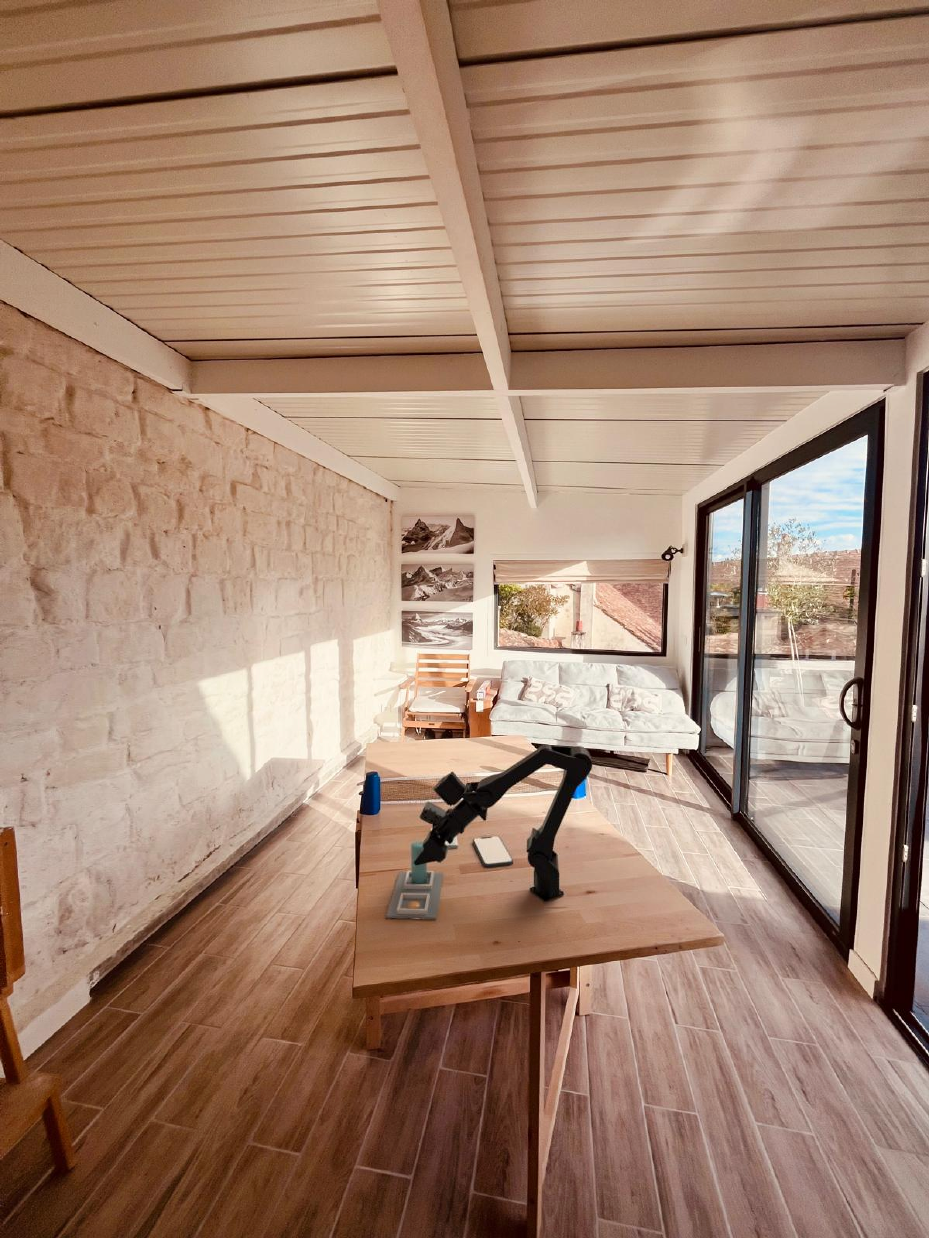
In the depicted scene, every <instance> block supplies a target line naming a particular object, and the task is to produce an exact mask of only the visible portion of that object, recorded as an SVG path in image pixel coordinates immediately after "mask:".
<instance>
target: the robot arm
mask: <svg viewBox="0 0 929 1238" xmlns="http://www.w3.org/2000/svg"><path fill="white" fill-rule="evenodd" d="M546 765H548V766H549V765H550V766H553V767H555V768H558V769H560V770H563V774H562V779H561V782H560V783H559V785H558V788H557V790H556V792H555V795H554V797H553V799H552V802H551V804H550V806H549V808H548V809H547V810H548V811H547V813H546V816H545V818H544V820H543V823H542V824H541V826H540V827H539V828H538V829H536V828H535V827H532V829H531V833H530V836H529V837H528V838H527V839H526V853H527V861H528V864H529V865H530V866H531V867H532V868H533V869H534V870H533V886H531V887H529V891H530V892H531V893H532V894H534V895H535V896H536V897H537V898H538V899H540V900H542V901H543V902H545V903H546V902H549V901H552V900H553V899H557V898H559V897H562V896H564V894H565V892H564V891H563V890H562V889H560V869H559V856H558V855H559V854H557V852H556V851H555V850H554V846H555V839H556V836H557V834H558V832H559V829H560V827H561V824H562V823H563V821H564V819H565V818H564V817H565V815H566V813H567V811H568V809H569V806H570V804H571V802H572V801H573V800H572V799H573V798H574V795H575V793H576V791H577V789H578V788H579V786H581V784H582V783H583V782H584V781H585V780H586V779H587V777H588V776H589V774H590V772H591V771H592V769H593V761H592V757H591V754H590V752H589V750H588V749H587V748H585V747H584V746H581V745H578V746H577V745H576V746H573V747H572V746H565V745H552V744H551V745H550V744H546V743H545V744H542V745H539V747H538V748H536V749H535V750H534V751H532V752H531V753H530V754H528V755H527V756H525V757H523V758H522V759H520V760H519V761H517V762H516V763H514V764H513V765H511V766H510V767H508V768H507V769H505V770H504V771H501V772H499V773H496V774H495V773H494V774H491V775H488V776H487V777H484V778H482V779H480V780H479V781H472V782H466V783H465V784H464V782H462V781H461V779H460V778H459V777H458V776H457V774H456V773H455V772H454V771H451V772H450V773H448V774H446V775H445V776H443V777H442V778H441V779H439V781H438V782H437V783H436V784H435V785H434V787H433V788H432V790H433V791H434V793H436V795H437V796H438V797H439V798H440V799H441V800H443V802H444V803H445V804H446V805H447V806H450V807H449V808H448V809H447V810H445V809H443V808H442V807H440V806H438V805H436V804H434V803H433V802H431V801H427V802H426V803H425V804H424V806H423V808H422V810H421V813H420V815H419V819H420V820H421V821H424V822H425V823H428V824H430V825H431V826H432V827H431V828H432V830H431V832H430V831H429V833H428V834H427V836H426V838H424V840H423V842H424V843H423V850H422V852H421V853H420V854H419V856H418V857H417V858H416V860H415V861H414V864H415V865H416V866H417V865H421V864H425V863H427V864H430V863H435V862H437V863H440V864H441V863H442V862H443V861H444V860H445V859H447V854H448V853H449V852H448V851H449V849H448V846H447V845H446V844H445V842H446V841H447V842H448V843H449V844H451V843H452V842H453V840H454V838H455V837H456V836H458V835H459V834H460V835H462V834H463V833H464V832H465V829H466V828H467V827H468V826H469V825H471V823H472V822H474V821H475V819H477V818H478V817H480V818H481V820H483V821H484V822H485V821H487V818H488V810H489V809H490V808H492V807H494V806H495V805H496V803H497V802H499V800H501V799H502V798H503V796H504V795H505V794H506V793H507V791H509V790H510V789H511V788H512V787H514V786H515V785H517V784H518V783H520V782H521V781H523V780H524V779H526V778H528V777H530V775H532V774H534V773H536V772H537V771H538V770H540V769H541V768H543V767H545V766H546ZM451 806H454V807H453V808H452V807H451Z"/></svg>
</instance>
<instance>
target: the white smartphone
mask: <svg viewBox="0 0 929 1238" xmlns="http://www.w3.org/2000/svg"><path fill="white" fill-rule="evenodd" d="M472 844H473V847H474V849H475V852H476V853H477V855H478V857H479V859H480V862H481V863H482V866H483V867H484V868H485V869H487V868H498V867H506V866H507V867H508V866H512V865H513V864H514V859H513V857H512V856H511V854H510V853H509V850H508V849H507V848H506V845H505V844H504V842H503V840H502V839H501V837H500V836H499V835H498V836H497V835H492V836H483V837H475V838H473V839H472Z"/></svg>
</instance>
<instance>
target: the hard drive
mask: <svg viewBox="0 0 929 1238" xmlns="http://www.w3.org/2000/svg"><path fill="white" fill-rule="evenodd" d="M431 830H432V827H431V828H430V831H429V833H430V832H431ZM457 836H458V835H457ZM457 836H456V837H455V838H454V840H453V842H452V843H451V844H449V843H448V842H447V841H446V842H445V844H446V845H447V846H448V850H452V849H453V850H455V849H456V850H457V849H459V845H458V837H457Z"/></svg>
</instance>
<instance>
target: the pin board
mask: <svg viewBox="0 0 929 1238" xmlns="http://www.w3.org/2000/svg"><path fill="white" fill-rule="evenodd" d="M442 879H444V873H443V872H435V871H434V870H427V882H426V884H412V872H411V870H407V871H406V872H405V871H402V872H401V871H399V872H398V876H397V879H396V882H395V885H394V889H393V892H392V896H391V899H390V902H389V905H388V909H387V912H386V915H385V919H386V918H424V919H423V920H431V919H436V918H437V917H438V912H439V906H438V905H439V903H440V899H441V893H440V892H441V891H442V886H443V885H442V884H443V880H442ZM436 920H437V919H436Z"/></svg>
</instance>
